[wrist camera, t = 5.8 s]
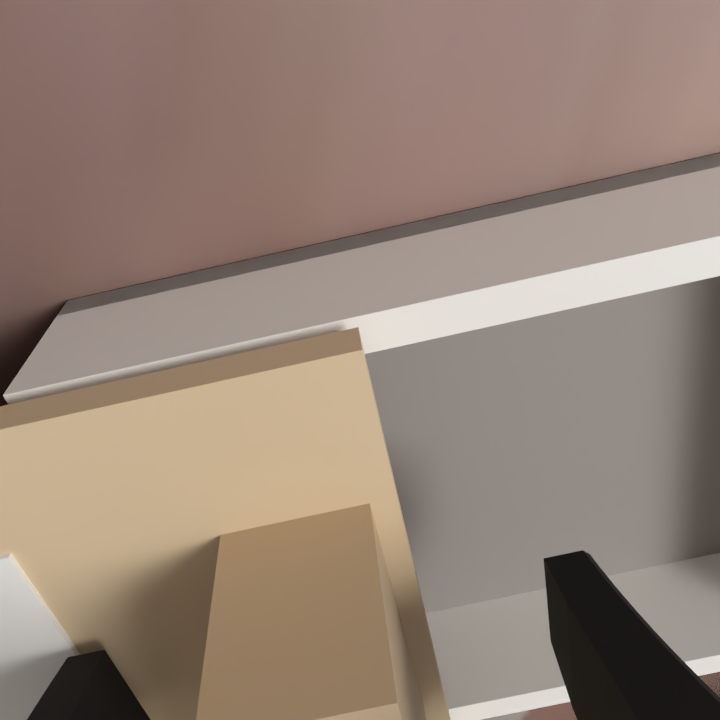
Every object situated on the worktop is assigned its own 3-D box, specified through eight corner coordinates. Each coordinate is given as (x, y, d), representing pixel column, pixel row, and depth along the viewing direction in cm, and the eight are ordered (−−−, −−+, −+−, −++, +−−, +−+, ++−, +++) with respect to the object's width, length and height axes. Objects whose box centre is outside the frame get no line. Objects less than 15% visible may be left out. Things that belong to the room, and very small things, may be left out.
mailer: (805, 133, 11) (956, 183, 9) (747, 542, 16) (830, 649, 14) (67, 300, 12) (2, 395, 9) (236, 647, 17) (224, 771, 14)
